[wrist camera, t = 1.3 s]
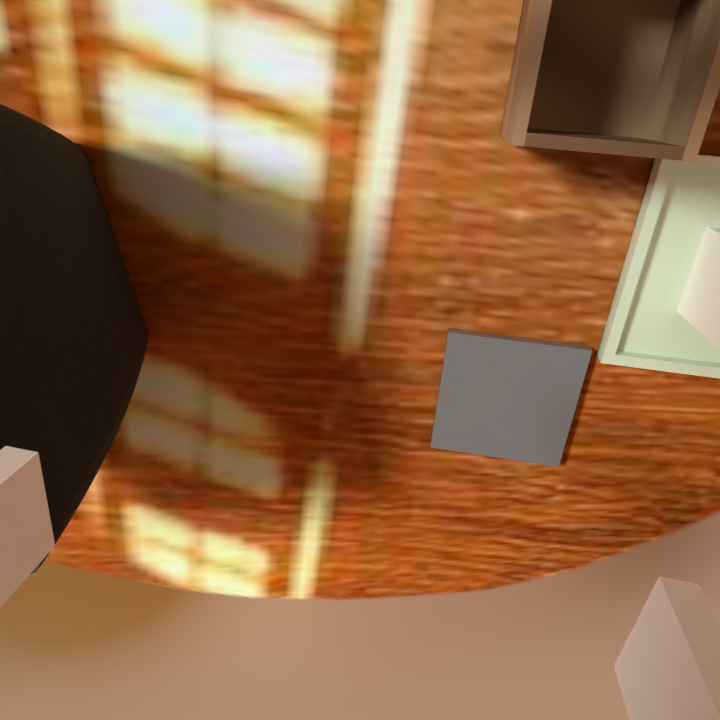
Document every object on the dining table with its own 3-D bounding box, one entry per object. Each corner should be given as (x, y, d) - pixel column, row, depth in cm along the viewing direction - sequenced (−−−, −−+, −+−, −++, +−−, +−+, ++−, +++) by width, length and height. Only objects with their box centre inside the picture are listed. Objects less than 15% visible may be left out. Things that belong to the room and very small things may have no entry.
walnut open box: (529, -35, 24) (551, -73, 19) (696, -25, 23) (769, -63, 18) (499, 136, 27) (511, 145, 22) (646, 149, 26) (695, 162, 21)
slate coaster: (448, 328, 32) (448, 332, 31) (590, 346, 31) (592, 350, 30) (430, 442, 35) (430, 447, 35) (557, 461, 34) (558, 466, 34)
